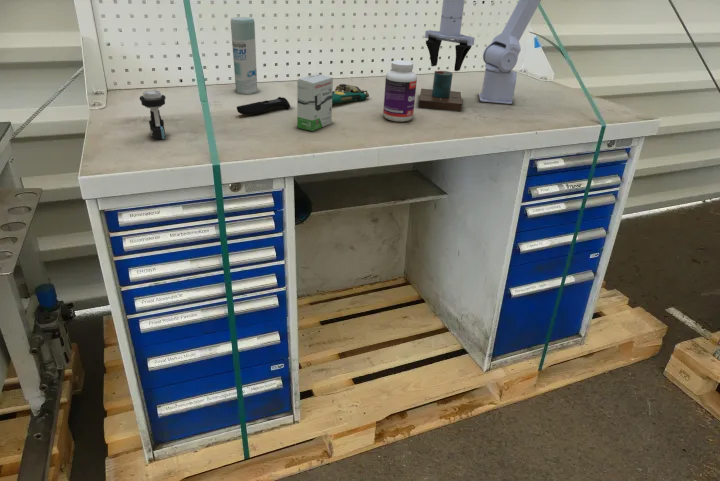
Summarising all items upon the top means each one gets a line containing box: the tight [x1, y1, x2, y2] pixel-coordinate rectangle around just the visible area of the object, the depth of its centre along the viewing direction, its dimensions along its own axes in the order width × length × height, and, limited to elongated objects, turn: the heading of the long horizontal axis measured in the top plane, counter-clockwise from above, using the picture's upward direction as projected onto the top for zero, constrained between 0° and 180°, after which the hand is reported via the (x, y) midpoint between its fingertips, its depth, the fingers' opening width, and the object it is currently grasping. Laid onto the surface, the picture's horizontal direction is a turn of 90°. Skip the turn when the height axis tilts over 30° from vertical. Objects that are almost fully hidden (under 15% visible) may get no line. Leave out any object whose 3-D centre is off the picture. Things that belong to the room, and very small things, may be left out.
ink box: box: [296, 73, 334, 132], centre depth 129 cm, size 9×5×12 cm, turn 148°
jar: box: [431, 70, 454, 98], centre depth 151 cm, size 5×5×7 cm
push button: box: [139, 90, 167, 141], centre depth 118 cm, size 7×5×10 cm
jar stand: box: [418, 88, 463, 112], centre depth 154 cm, size 13×12×2 cm
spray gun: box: [332, 83, 370, 105], centre depth 152 cm, size 4×17×15 cm
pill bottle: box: [382, 59, 418, 123], centre depth 136 cm, size 8×8×14 cm
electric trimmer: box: [236, 96, 291, 116], centre depth 138 cm, size 4×16×3 cm, turn 133°
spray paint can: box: [230, 16, 258, 95], centre depth 150 cm, size 6×6×20 cm
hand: (445, 68), depth 150 cm, fingers open, 7 cm apart
